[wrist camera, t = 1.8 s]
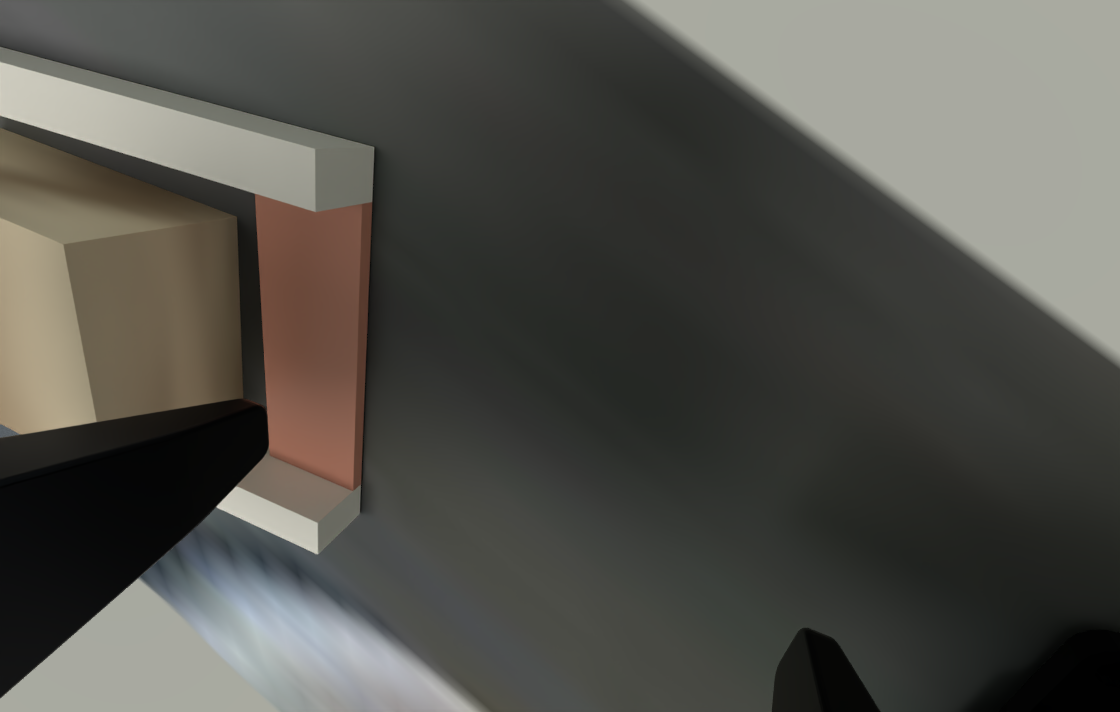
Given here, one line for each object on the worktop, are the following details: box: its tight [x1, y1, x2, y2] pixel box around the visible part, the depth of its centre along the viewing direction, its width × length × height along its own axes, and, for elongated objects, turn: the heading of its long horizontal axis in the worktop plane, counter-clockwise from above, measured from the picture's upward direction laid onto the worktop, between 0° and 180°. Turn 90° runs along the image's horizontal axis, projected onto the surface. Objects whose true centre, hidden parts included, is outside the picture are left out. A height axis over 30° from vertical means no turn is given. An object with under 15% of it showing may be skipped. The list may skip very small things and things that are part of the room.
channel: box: [0, 47, 374, 554], centre depth 12 cm, size 12×9×2 cm
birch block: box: [0, 128, 243, 434], centre depth 12 cm, size 7×5×4 cm
